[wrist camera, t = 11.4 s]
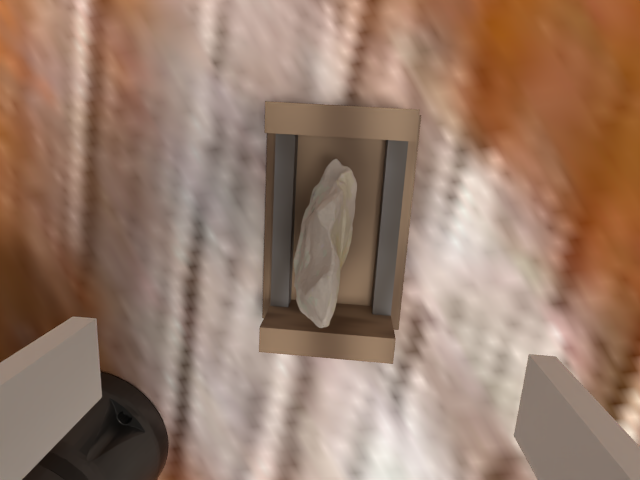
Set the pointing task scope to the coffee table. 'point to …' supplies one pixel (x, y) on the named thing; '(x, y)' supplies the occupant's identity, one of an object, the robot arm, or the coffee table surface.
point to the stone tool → (324, 243)
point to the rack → (368, 225)
